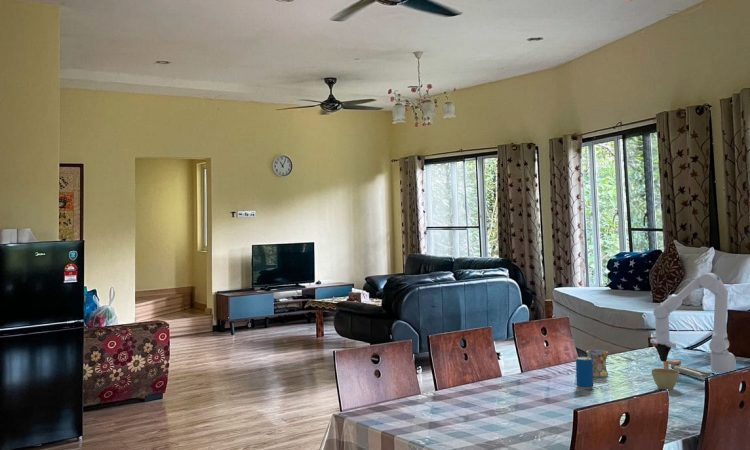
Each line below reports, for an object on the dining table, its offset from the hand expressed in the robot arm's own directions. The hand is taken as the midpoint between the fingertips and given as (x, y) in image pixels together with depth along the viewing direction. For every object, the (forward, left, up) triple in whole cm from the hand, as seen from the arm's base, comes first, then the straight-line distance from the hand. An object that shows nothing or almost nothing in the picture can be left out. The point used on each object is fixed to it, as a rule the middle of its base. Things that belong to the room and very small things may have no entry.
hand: (663, 361), depth 282 cm
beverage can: (+55, +20, -3) cm, 58 cm away
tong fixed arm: (0, +14, -3) cm, 15 cm away
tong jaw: (+2, +19, -2) cm, 19 cm away
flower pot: (+27, +33, -3) cm, 42 cm away
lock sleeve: (0, +5, -3) cm, 6 cm away
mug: (+39, +4, -3) cm, 39 cm away
